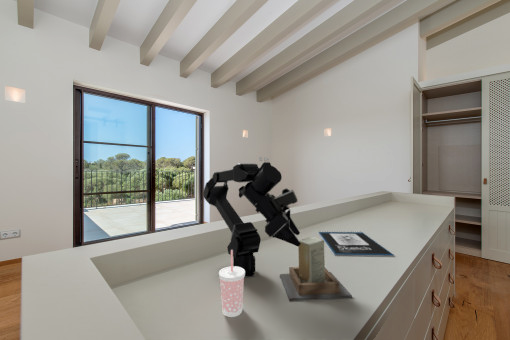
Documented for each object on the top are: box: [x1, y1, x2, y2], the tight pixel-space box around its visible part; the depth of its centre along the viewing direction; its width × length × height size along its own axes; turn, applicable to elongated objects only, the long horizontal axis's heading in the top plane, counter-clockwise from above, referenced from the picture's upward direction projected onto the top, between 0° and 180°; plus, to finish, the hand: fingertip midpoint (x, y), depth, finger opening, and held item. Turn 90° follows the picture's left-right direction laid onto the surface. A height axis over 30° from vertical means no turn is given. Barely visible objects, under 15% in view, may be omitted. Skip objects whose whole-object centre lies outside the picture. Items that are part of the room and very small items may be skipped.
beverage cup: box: [218, 250, 245, 318], centre depth 52 cm, size 6×6×14 cm
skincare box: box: [297, 236, 326, 283], centre depth 62 cm, size 6×4×12 cm
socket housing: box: [279, 266, 353, 302], centre depth 62 cm, size 16×13×3 cm
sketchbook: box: [318, 230, 395, 258], centre depth 98 cm, size 22×30×2 cm
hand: (299, 239), depth 64 cm, fingers open, 9 cm apart
